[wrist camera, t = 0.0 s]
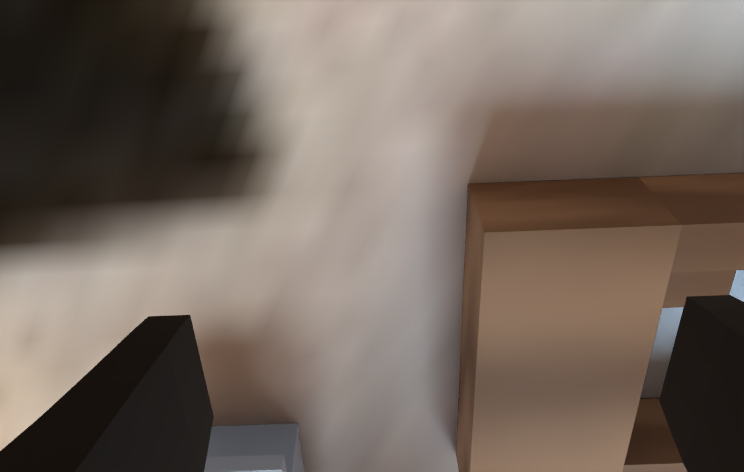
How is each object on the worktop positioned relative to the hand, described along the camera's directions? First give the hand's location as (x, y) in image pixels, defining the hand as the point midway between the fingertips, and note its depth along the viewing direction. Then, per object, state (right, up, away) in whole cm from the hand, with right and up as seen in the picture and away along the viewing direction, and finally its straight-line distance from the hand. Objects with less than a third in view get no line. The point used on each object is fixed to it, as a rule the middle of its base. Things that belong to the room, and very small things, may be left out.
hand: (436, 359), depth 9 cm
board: (+10, -2, +13) cm, 16 cm away
